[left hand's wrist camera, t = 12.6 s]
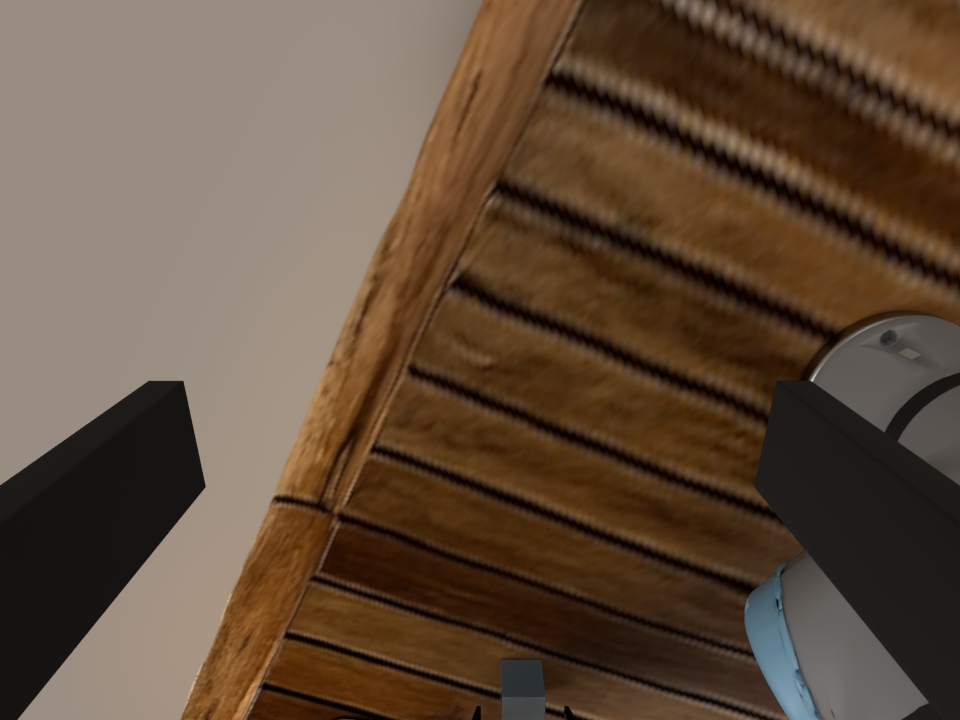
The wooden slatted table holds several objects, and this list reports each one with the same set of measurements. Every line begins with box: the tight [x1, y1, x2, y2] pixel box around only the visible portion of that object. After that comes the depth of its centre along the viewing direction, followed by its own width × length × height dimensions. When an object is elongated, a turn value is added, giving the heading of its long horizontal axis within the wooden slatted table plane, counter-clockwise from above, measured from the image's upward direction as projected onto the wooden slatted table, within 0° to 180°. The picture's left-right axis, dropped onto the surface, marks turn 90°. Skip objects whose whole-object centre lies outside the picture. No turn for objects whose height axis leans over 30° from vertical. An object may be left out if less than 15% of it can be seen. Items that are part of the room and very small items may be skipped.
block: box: [500, 659, 546, 720], centre depth 59 cm, size 4×5×5 cm
